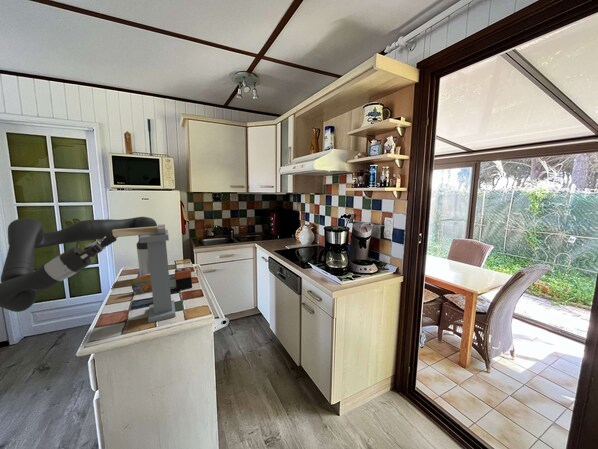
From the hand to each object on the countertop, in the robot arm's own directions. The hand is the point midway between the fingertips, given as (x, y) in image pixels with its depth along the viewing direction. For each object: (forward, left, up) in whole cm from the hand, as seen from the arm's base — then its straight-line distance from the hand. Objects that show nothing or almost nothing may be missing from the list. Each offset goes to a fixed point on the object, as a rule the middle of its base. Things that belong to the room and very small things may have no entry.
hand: (116, 235), depth 88 cm
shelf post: (-1, +11, -33) cm, 35 cm away
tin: (-27, +7, -33) cm, 43 cm away
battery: (-23, +21, -33) cm, 45 cm away
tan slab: (-1, +7, -1) cm, 7 cm away
